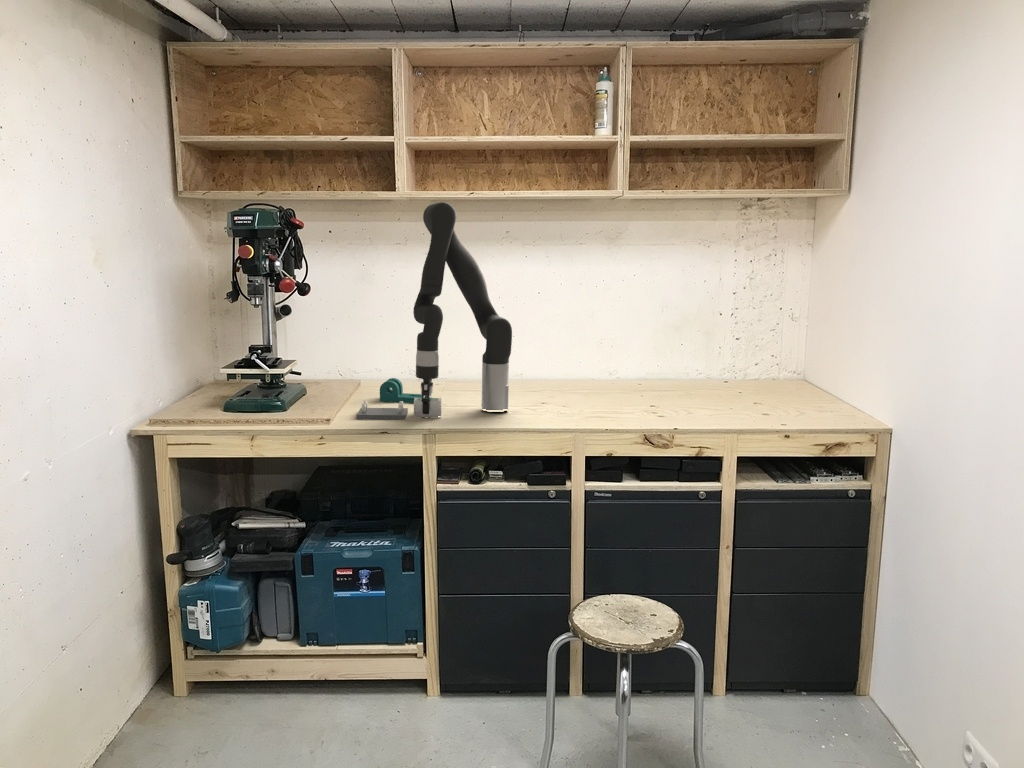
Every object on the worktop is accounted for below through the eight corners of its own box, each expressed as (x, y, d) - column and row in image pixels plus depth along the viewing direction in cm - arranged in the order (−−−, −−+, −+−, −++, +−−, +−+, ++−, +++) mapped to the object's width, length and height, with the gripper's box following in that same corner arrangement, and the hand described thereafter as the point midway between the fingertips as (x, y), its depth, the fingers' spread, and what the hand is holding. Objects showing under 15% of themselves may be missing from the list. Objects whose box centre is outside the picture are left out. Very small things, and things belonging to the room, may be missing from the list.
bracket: (379, 402, 251) (379, 381, 249) (385, 398, 257) (384, 377, 256) (428, 404, 249) (428, 383, 247) (432, 400, 255) (432, 379, 254)
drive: (441, 415, 234) (441, 397, 233) (440, 418, 229) (440, 400, 228) (414, 414, 233) (414, 397, 232) (413, 418, 229) (413, 400, 228)
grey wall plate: (408, 412, 236) (407, 399, 235) (405, 419, 226) (405, 406, 225) (360, 411, 234) (360, 399, 234) (356, 419, 225) (356, 405, 224)
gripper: (437, 367, 221) (436, 416, 224) (439, 360, 235) (438, 406, 238) (414, 366, 221) (413, 415, 224) (417, 359, 235) (416, 405, 238)
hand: (426, 410), depth 231 cm, fingers open, 8 cm apart
